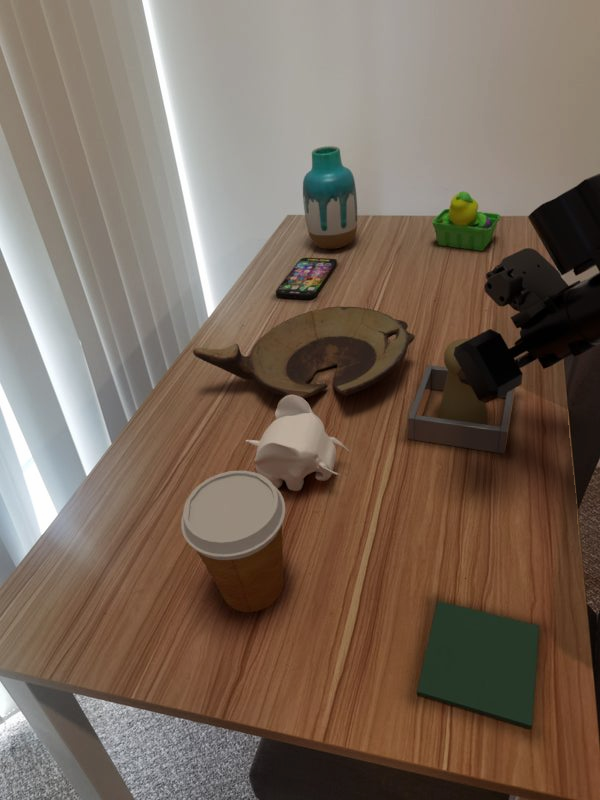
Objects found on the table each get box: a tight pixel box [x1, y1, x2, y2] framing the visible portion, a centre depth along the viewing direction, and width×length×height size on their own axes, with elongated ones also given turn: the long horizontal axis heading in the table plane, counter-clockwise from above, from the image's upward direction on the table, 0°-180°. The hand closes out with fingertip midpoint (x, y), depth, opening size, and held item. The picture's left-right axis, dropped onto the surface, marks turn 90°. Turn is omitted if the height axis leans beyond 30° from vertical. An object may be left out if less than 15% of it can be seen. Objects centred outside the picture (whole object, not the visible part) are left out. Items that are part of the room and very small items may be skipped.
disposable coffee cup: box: [180, 470, 286, 613], centre depth 57 cm, size 10×10×12 cm
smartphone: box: [275, 257, 338, 300], centre depth 113 cm, size 8×1×15 cm
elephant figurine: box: [245, 395, 350, 492], centre depth 70 cm, size 10×12×9 cm
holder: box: [407, 364, 516, 455], centre depth 76 cm, size 12×12×4 cm
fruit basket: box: [431, 191, 501, 252], centre depth 115 cm, size 11×9×11 cm
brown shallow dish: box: [192, 306, 416, 399], centre depth 87 cm, size 22×30×8 cm
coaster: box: [416, 600, 540, 730], centre depth 52 cm, size 9×9×1 cm
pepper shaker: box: [438, 338, 488, 425], centre depth 74 cm, size 6×6×11 cm
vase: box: [302, 145, 358, 250], centre depth 119 cm, size 11×11×19 cm
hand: (489, 362), depth 69 cm, fingers open, 9 cm apart
